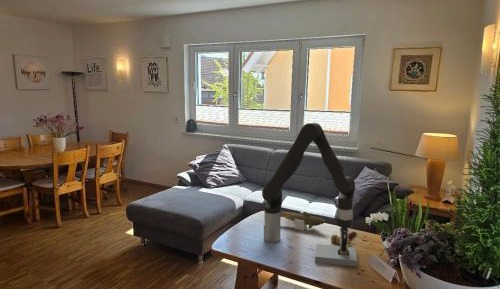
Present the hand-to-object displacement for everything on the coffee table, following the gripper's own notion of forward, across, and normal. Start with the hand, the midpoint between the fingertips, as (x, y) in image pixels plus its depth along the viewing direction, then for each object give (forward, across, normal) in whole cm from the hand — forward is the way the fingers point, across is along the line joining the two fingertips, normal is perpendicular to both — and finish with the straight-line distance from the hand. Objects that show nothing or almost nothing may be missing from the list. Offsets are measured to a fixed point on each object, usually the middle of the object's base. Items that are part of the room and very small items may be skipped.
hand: (343, 248), depth 164 cm
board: (+5, 0, -4) cm, 7 cm away
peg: (+4, 0, 0) cm, 4 cm away
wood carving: (+6, -34, -26) cm, 44 cm away
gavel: (+6, -23, +4) cm, 24 cm away
